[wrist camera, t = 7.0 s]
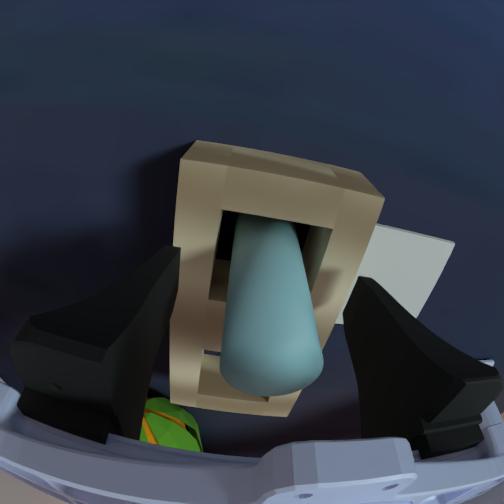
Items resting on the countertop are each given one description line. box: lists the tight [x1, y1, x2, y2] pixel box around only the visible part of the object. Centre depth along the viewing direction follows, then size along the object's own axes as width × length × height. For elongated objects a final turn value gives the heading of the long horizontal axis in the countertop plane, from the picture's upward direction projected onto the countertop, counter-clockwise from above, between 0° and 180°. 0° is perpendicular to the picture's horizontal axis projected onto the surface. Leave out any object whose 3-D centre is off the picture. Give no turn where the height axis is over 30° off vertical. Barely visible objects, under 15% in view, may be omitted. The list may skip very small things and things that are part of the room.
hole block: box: [170, 140, 385, 417], centre depth 17 cm, size 16×8×4 cm, turn 170°
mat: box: [335, 223, 455, 324], centre depth 18 cm, size 7×7×1 cm
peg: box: [219, 212, 323, 397], centre depth 13 cm, size 3×3×9 cm
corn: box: [140, 396, 203, 452], centre depth 25 cm, size 7×8×20 cm
